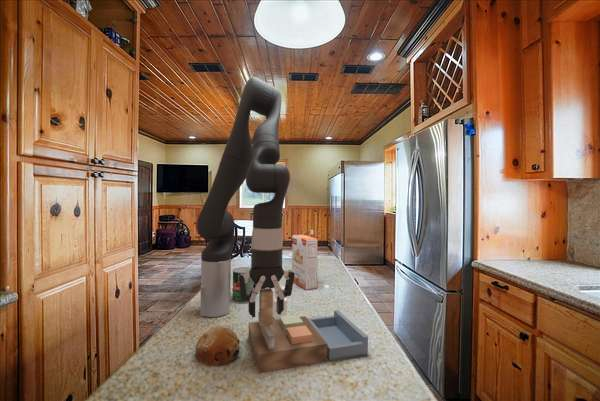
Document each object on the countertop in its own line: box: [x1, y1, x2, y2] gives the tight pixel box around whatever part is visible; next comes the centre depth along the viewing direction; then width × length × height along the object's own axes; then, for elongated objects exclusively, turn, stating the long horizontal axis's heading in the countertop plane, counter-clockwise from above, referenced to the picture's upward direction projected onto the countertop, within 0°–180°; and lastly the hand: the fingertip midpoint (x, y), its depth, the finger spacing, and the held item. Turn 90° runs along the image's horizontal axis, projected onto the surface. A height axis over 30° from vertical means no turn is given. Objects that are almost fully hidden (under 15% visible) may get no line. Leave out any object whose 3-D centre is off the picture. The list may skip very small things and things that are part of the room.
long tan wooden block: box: [257, 288, 274, 350], centre depth 70 cm, size 3×14×11 cm, turn 18°
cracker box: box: [291, 234, 319, 291], centre depth 124 cm, size 14×6×21 cm, turn 25°
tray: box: [307, 309, 369, 362], centre depth 76 cm, size 10×17×4 cm, turn 18°
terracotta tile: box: [286, 325, 312, 344], centre depth 69 cm, size 5×5×2 cm
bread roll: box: [195, 326, 242, 366], centre depth 69 cm, size 10×10×8 cm
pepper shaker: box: [273, 285, 288, 320], centre depth 90 cm, size 4×4×10 cm
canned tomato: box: [231, 266, 254, 304], centre depth 105 cm, size 8×8×11 cm
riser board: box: [248, 315, 328, 373], centre depth 72 cm, size 16×16×4 cm
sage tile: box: [280, 314, 303, 331], centre depth 76 cm, size 5×5×2 cm
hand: (266, 314), depth 70 cm, fingers open, 5 cm apart
